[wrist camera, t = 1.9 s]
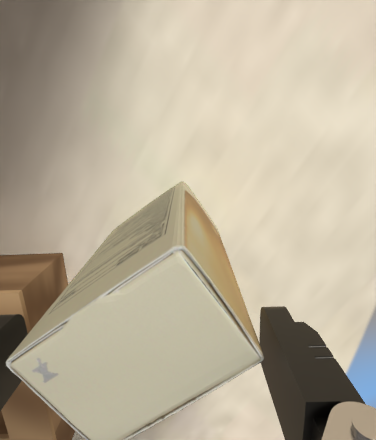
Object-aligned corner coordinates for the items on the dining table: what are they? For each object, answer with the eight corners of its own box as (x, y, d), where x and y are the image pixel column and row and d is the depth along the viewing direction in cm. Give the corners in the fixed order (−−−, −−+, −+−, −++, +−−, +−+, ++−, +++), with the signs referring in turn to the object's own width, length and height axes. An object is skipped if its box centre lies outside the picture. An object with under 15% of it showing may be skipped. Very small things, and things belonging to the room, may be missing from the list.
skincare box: (149, 276, 20) (92, 464, 9) (110, 229, 19) (-11, 369, 8) (223, 228, 19) (274, 367, 8) (186, 175, 18) (180, 243, 7)
